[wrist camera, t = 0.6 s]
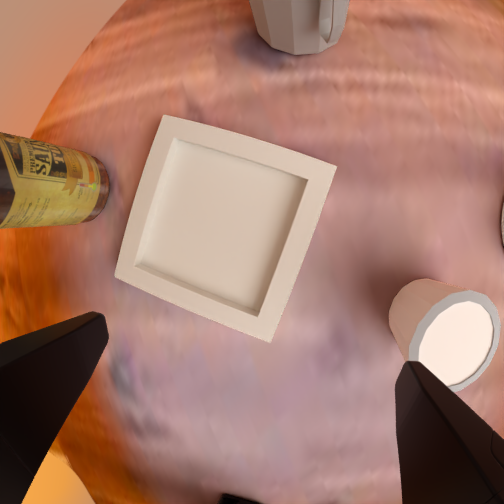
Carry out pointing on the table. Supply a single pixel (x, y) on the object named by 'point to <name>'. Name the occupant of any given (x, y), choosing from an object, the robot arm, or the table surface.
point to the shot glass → (445, 330)
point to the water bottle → (300, 23)
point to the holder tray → (222, 224)
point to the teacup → (502, 223)
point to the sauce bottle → (48, 184)
